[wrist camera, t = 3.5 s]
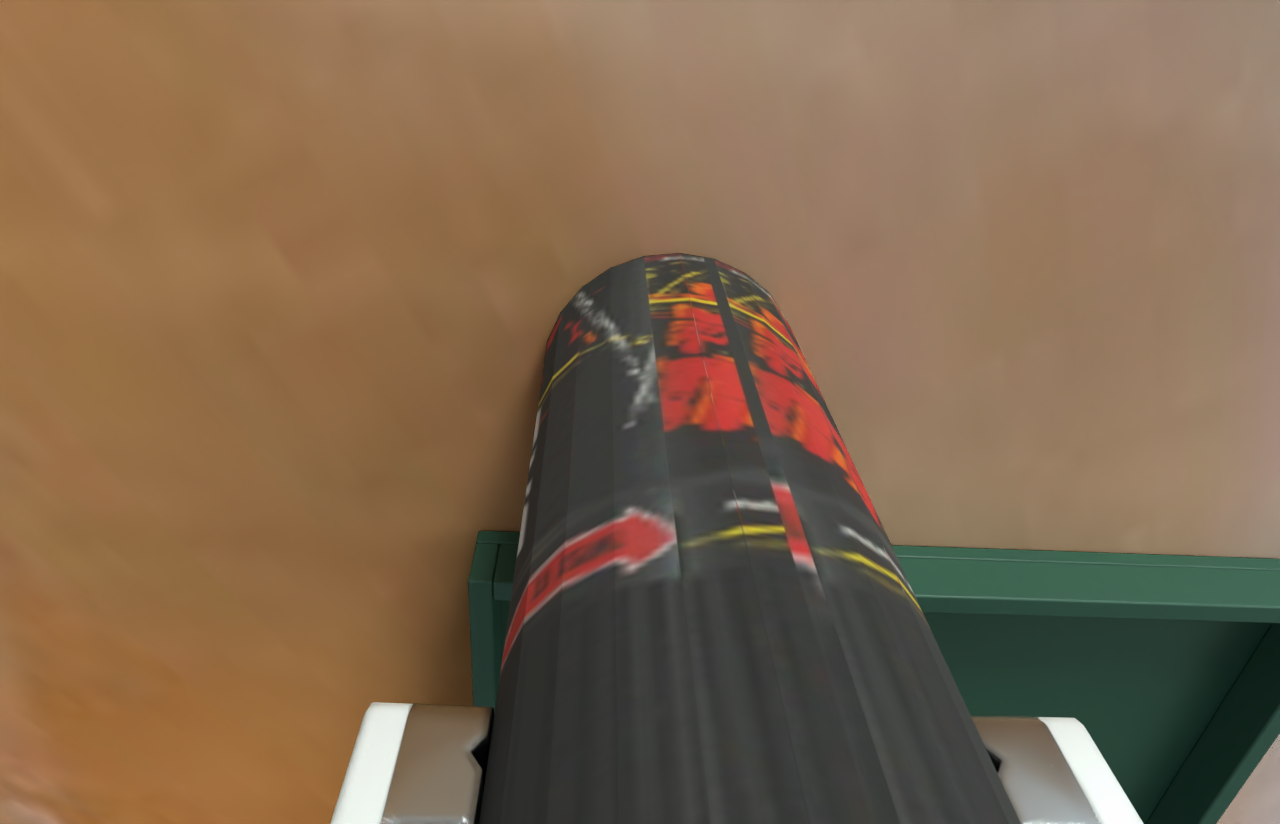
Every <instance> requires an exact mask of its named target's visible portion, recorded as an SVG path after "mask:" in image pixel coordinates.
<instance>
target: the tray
mask: <svg viewBox="0 0 1280 824" xmlns="http://www.w3.org/2000/svg"><path fill="white" fill-rule="evenodd" d="M519 538H520V532H498V531H479V533H478V537H477V541H476V546H475V551H474V556H473V560H472V565H471V570H470V574H469V579H468V598H469V621H470V643H471V665H472V688H473V706H477V707H493V708H494V714H495V707H496V700H497V693H498V686H499V679H500V672H501V665H502V658H503V651H504V644H505V637H506V629H507V622H508V615H509V608H510V601H511V594H512V587H513V580H514V573H515V566H516V559H517V552H518V545H519ZM891 546H892V548H893V550H894V552H895V554H896V556H897V558H898V561H899V563H900V565H901V567H902V569H903V571H904V573H905V576H906V578H907V580H908V582H909V584H910V586H911V589H912V591H913V593H914V595H915V597H916V599H917V601H918V604H919V606H920V608H921V610H922V612H923V614H924V616H925V619H926V621H927V623H928V625H929V627H930V629H931V632H932V634H933V636H934V638H935V640H936V642H937V644H938V647H939V649H940V651H941V653H942V655H943V657H944V659H945V662H946V664H947V666H948V668H949V670H950V672H951V675H952V677H953V679H954V681H955V683H956V685H957V687H958V690H959V692H960V694H961V696H962V698H963V700H964V703H965V705H966V707H967V709H968V711H969V713H970V715H971V716H1031V717H1065V718H1075V719H1077V720H1078V721H1079V722H1080V723H1082V724H1083V725H1084V727H1085V728H1086V730H1087V732H1088V733H1089V735H1090V736H1091V738H1092V740H1093V741H1094V743H1095V745H1096V746H1097V748H1098V750H1099V751H1100V753H1101V754H1102V756H1103V758H1104V759H1105V761H1106V763H1107V764H1108V766H1109V768H1110V769H1111V771H1112V773H1113V774H1114V776H1115V777H1116V779H1117V781H1118V782H1119V784H1120V786H1121V787H1122V789H1123V791H1124V792H1125V794H1126V795H1127V797H1128V799H1129V800H1130V802H1131V804H1132V805H1133V807H1134V809H1135V810H1136V812H1137V814H1138V815H1139V817H1140V818H1141V820H1142V822H1143V823H1144V824H1216V823H1217V822H1218V820H1219V819H1220V817H1221V816H1222V815H1223V813H1224V812H1225V810H1226V809H1227V807H1228V806H1229V805H1230V803H1231V802H1232V800H1233V799H1234V797H1235V796H1236V795H1237V793H1238V792H1239V790H1240V789H1241V788H1242V786H1243V785H1244V783H1245V782H1246V780H1247V779H1248V778H1249V776H1250V775H1251V773H1252V772H1253V770H1254V769H1255V768H1256V766H1257V765H1258V763H1259V762H1260V761H1261V759H1262V758H1263V756H1264V755H1265V753H1266V752H1267V751H1268V749H1269V748H1270V746H1271V745H1272V743H1273V742H1274V741H1275V739H1276V738H1277V736H1278V735H1279V734H1280V559H1268V558H1239V557H1211V556H1182V555H1154V554H1125V553H1097V552H1068V551H1040V550H1011V549H983V548H954V547H926V546H897V545H891Z"/></svg>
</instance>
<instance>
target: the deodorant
mask: <svg viewBox="0 0 1280 824" xmlns="http://www.w3.org/2000/svg"><path fill="white" fill-rule="evenodd" d="M479 824H1021V823H1020V821H1019V819H1018V817H1017V814H1016V812H1015V810H1014V808H1013V806H1012V804H1011V801H1010V799H1009V797H1008V795H1007V793H1006V791H1005V789H1004V786H1003V784H1002V782H1001V780H1000V778H999V776H998V773H997V771H996V769H995V767H994V765H993V763H992V761H991V758H990V756H989V754H988V752H987V750H986V748H985V746H984V743H983V741H982V739H981V737H980V735H979V733H978V730H977V728H976V726H975V724H974V722H973V720H972V718H971V715H970V713H969V711H968V709H967V707H966V705H965V703H964V700H963V698H962V696H961V694H960V692H959V690H958V687H957V685H956V683H955V681H954V679H953V677H952V675H951V672H950V670H949V668H948V666H947V664H946V662H945V659H944V657H943V655H942V653H941V651H940V649H939V647H938V644H937V642H936V640H935V638H934V636H933V634H932V632H931V629H930V627H929V625H928V623H927V621H926V619H925V616H924V614H923V612H922V610H921V608H920V606H919V604H918V601H917V599H916V597H915V595H914V593H913V591H912V589H911V586H910V584H909V582H908V580H907V578H906V576H905V573H904V571H903V569H902V567H901V565H900V563H899V561H898V558H897V556H896V554H895V552H894V550H893V548H892V546H891V543H890V541H889V539H888V537H887V535H886V533H885V530H884V528H883V526H882V524H881V522H880V520H879V518H878V515H877V513H876V511H875V509H874V507H873V505H872V502H871V500H870V498H869V496H868V494H867V492H866V490H865V487H864V485H863V483H862V481H861V479H860V477H859V475H858V472H857V470H856V468H855V466H854V464H853V462H852V459H851V457H850V455H849V453H848V451H847V449H846V447H845V444H844V442H843V440H842V438H841V436H840V434H839V432H838V429H837V427H836V425H835V423H834V421H833V419H832V416H831V414H830V412H829V410H828V408H827V406H826V404H825V401H824V399H823V397H822V395H821V393H820V391H819V389H818V386H817V384H816V382H815V380H814V378H813V376H812V373H811V371H810V369H809V367H808V365H807V363H806V361H805V358H804V356H803V354H802V352H801V350H800V348H799V345H798V343H797V341H796V339H795V337H794V335H793V333H792V330H791V328H790V326H789V324H788V322H787V320H786V318H785V317H784V315H783V314H782V312H781V310H780V309H779V307H778V306H777V304H776V303H775V301H774V300H773V298H772V297H771V295H770V294H769V293H768V292H767V291H766V290H765V289H763V288H762V287H761V286H760V285H759V284H757V283H756V282H755V281H754V280H753V279H751V278H750V277H749V276H748V275H747V274H745V273H744V272H741V271H739V270H737V269H735V268H733V267H731V266H728V265H726V264H724V263H722V262H720V261H718V260H715V259H712V258H706V257H700V256H694V255H688V254H682V253H675V254H664V255H652V256H643V257H640V258H637V259H635V260H632V261H629V262H626V263H623V264H621V265H618V266H615V267H612V268H610V269H608V270H607V271H605V272H604V273H602V274H601V275H599V276H598V277H596V278H595V279H594V280H592V281H591V282H589V283H588V284H586V285H585V286H583V287H582V288H581V289H580V290H579V291H578V293H577V294H576V295H575V296H574V297H573V298H572V300H571V301H570V302H569V303H568V304H567V305H566V307H565V308H564V309H563V310H562V311H561V313H560V315H559V317H558V319H557V321H556V323H555V325H554V328H553V330H552V332H551V334H550V336H549V338H548V341H547V347H546V354H545V361H544V368H543V375H542V382H541V389H540V396H539V404H538V411H537V418H536V425H535V432H534V439H533V446H532V453H531V460H530V467H529V474H528V481H527V488H526V495H525V502H524V509H523V516H522V524H521V531H520V538H519V545H518V552H517V559H516V566H515V573H514V580H513V587H512V594H511V601H510V608H509V615H508V622H507V629H506V637H505V644H504V651H503V658H502V665H501V672H500V679H499V686H498V693H497V700H496V707H495V714H494V722H493V729H492V736H491V743H490V750H489V757H488V764H487V771H486V778H485V785H484V792H483V799H482V806H481V814H480V821H479Z"/></svg>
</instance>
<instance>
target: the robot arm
mask: <svg viewBox="0 0 1280 824" xmlns="http://www.w3.org/2000/svg"><path fill="white" fill-rule="evenodd" d="M971 718H972V720H973V722H974V724H975V726H976V728H977V730H978V733H979V735H980V737H981V739H982V741H983V743H984V746H985V748H986V750H987V752H988V754H989V756H990V758H991V761H992V763H993V765H994V767H995V769H996V771H997V773H998V776H999V778H1000V780H1001V782H1002V784H1003V786H1004V789H1005V791H1006V793H1007V795H1008V797H1009V799H1010V801H1011V804H1012V806H1013V808H1014V810H1015V812H1016V814H1017V817H1018V819H1019V821H1020V823H1021V824H1144V823H1143V822H1142V820H1141V818H1140V817H1139V815H1138V814H1137V812H1136V810H1135V809H1134V807H1133V805H1132V804H1131V802H1130V800H1129V799H1128V797H1127V795H1126V794H1125V792H1124V791H1123V789H1122V787H1121V786H1120V784H1119V782H1118V781H1117V779H1116V777H1115V776H1114V774H1113V773H1112V771H1111V769H1110V768H1109V766H1108V764H1107V763H1106V761H1105V759H1104V758H1103V756H1102V754H1101V753H1100V751H1099V750H1098V748H1097V746H1096V745H1095V743H1094V741H1093V740H1092V738H1091V736H1090V735H1089V733H1088V732H1087V730H1086V728H1085V727H1084V725H1083V724H1082V723H1080V722H1079V721H1078V720H1077V719H1075V718H1065V717H1031V716H971ZM493 722H494V708H493V707H477V706H456V705H435V704H414V703H413V704H412V703H381V702H372V703H371V704H370V706H369V708H368V709H367V711H366V713H365V714H364V717H363V720H362V724H361V727H360V730H359V733H358V736H357V740H356V743H355V746H354V749H353V752H352V756H351V759H350V762H349V765H348V768H347V772H346V775H345V778H344V781H343V784H342V788H341V791H340V794H339V797H338V800H337V804H336V807H335V810H334V813H333V817H332V820H331V823H330V824H479V821H480V814H481V806H482V799H483V792H484V785H485V778H486V771H487V764H488V757H489V750H490V743H491V736H492V729H493Z"/></svg>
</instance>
